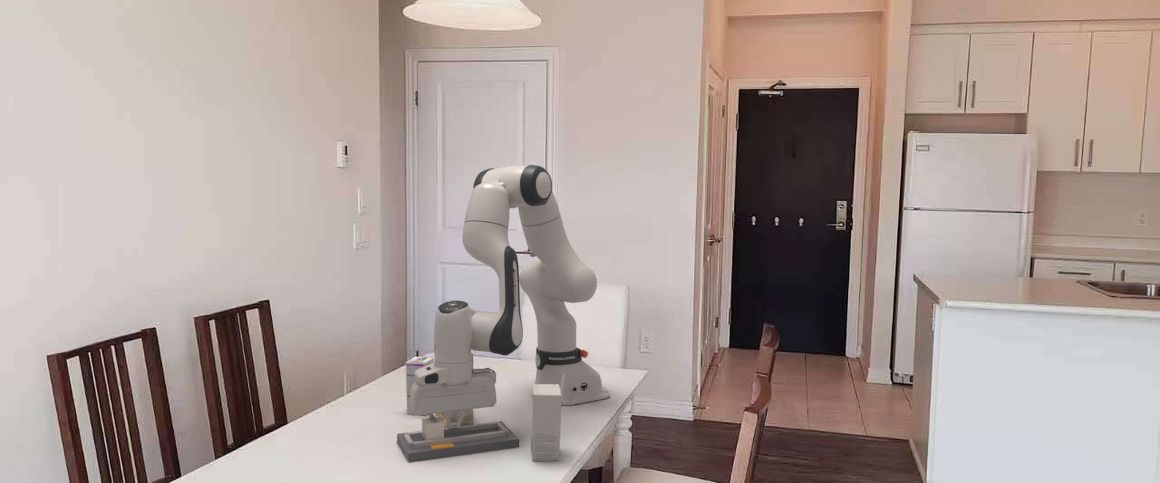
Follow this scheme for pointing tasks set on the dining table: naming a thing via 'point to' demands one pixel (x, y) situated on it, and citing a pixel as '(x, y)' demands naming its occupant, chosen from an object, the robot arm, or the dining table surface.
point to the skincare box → (546, 422)
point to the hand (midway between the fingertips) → (453, 428)
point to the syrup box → (410, 377)
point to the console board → (458, 441)
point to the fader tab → (432, 427)
